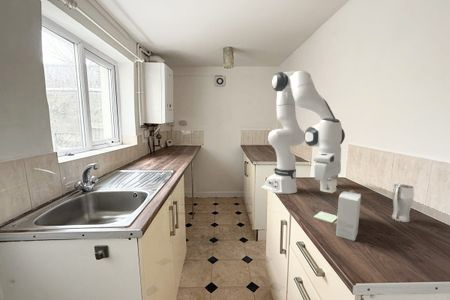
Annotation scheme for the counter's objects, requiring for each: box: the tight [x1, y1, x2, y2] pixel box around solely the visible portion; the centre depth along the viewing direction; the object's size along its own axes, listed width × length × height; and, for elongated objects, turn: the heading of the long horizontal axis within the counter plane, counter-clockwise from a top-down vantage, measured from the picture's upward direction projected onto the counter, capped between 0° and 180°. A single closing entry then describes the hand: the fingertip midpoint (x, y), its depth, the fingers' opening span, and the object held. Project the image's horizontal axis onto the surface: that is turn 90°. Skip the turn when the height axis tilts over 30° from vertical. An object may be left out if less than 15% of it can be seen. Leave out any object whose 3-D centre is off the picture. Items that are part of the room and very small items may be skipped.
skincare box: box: [335, 190, 362, 242], centre depth 80 cm, size 8×7×16 cm
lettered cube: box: [319, 178, 338, 194], centre depth 94 cm, size 5×5×5 cm
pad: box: [313, 211, 337, 224], centre depth 96 cm, size 8×8×1 cm
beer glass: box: [391, 183, 415, 223], centre depth 92 cm, size 7×7×15 cm
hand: (328, 186), depth 94 cm, fingers closed on lettered cube, 5 cm apart
